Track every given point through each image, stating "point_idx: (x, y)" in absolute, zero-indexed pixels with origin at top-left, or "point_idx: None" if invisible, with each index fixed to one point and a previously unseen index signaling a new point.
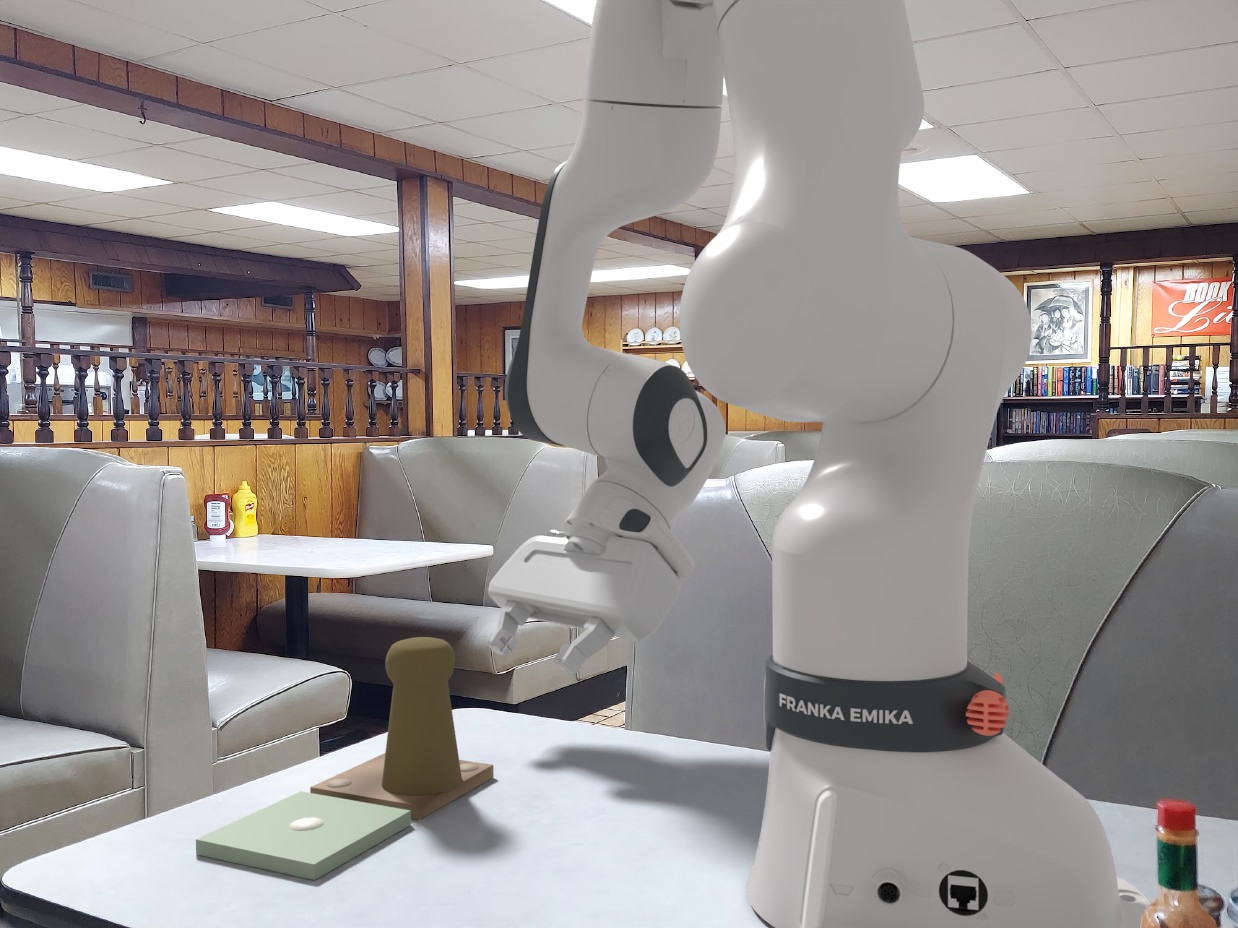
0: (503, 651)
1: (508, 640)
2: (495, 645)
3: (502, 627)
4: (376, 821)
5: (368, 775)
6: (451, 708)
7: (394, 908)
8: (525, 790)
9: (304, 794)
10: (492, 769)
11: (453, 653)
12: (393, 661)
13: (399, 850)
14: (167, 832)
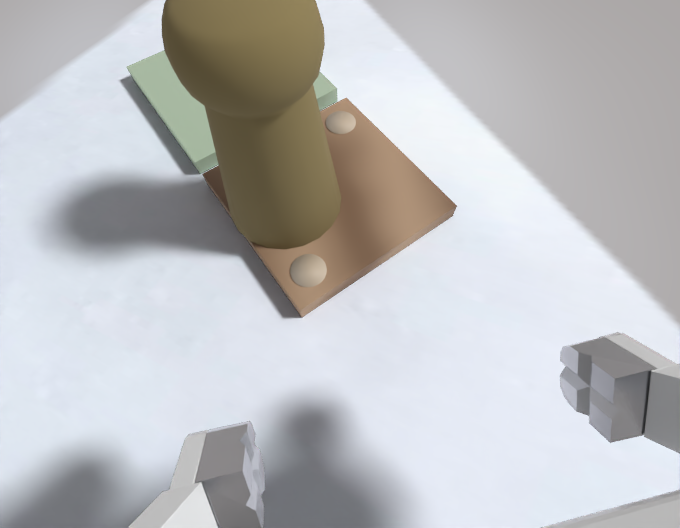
0: (564, 375)
1: (600, 395)
2: (576, 343)
3: (657, 373)
4: (188, 127)
5: (353, 155)
6: (245, 165)
7: (27, 115)
8: (216, 337)
9: (323, 89)
10: (299, 311)
11: (200, 73)
12: None
13: (141, 147)
14: (329, 12)
